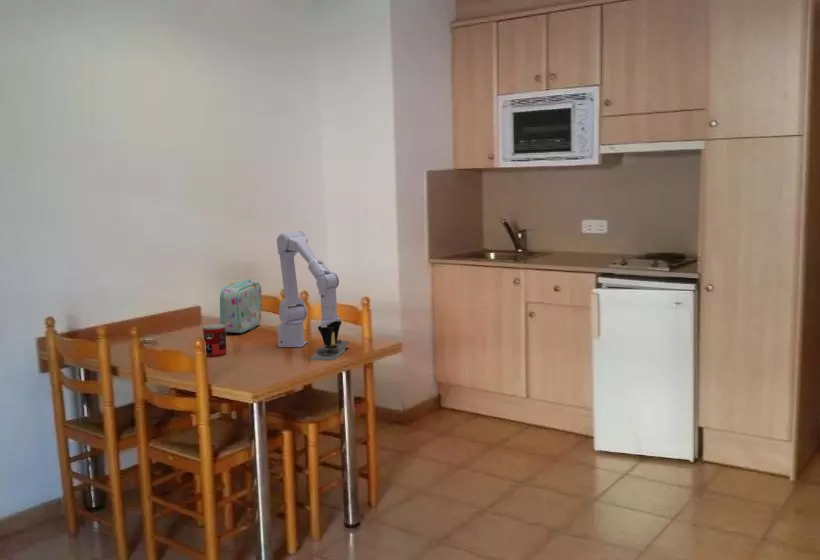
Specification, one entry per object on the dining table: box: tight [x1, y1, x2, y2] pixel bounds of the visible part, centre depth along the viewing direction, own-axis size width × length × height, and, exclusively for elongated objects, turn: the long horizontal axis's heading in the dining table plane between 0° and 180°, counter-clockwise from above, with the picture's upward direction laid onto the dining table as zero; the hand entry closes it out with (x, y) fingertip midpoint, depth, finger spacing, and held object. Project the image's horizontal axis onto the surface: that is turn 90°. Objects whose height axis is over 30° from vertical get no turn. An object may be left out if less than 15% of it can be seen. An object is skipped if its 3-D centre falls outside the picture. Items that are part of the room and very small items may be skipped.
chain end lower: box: [311, 347, 346, 361], centre depth 295 cm, size 8×14×2 cm, turn 168°
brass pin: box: [327, 332, 335, 348], centre depth 298 cm, size 3×3×8 cm
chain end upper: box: [316, 339, 350, 353], centre depth 301 cm, size 8×14×2 cm, turn 168°
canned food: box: [202, 323, 228, 358], centre depth 303 cm, size 8×8×11 cm
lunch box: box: [219, 278, 263, 334], centre depth 350 cm, size 27×10×21 cm, turn 169°
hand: (330, 343), depth 298 cm, fingers open, 7 cm apart
